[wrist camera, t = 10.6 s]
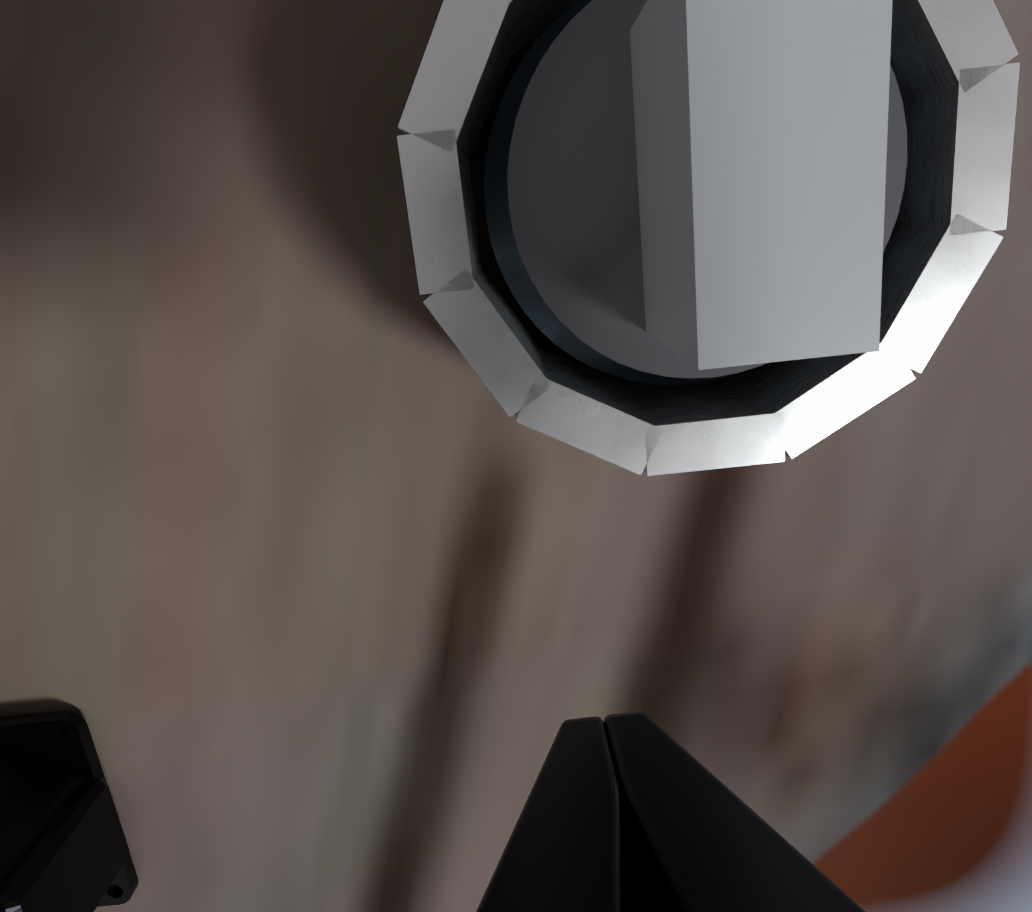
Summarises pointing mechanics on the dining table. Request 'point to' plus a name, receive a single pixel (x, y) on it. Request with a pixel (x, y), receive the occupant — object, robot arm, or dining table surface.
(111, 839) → the robot arm
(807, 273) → the grey knob
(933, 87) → the faceted white dish
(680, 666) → the dining table surface
